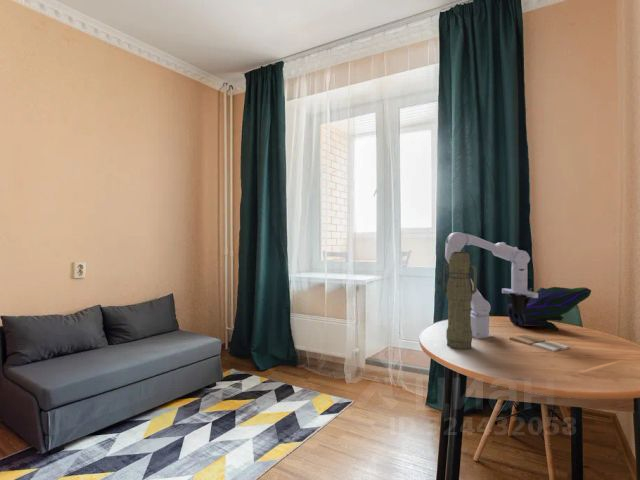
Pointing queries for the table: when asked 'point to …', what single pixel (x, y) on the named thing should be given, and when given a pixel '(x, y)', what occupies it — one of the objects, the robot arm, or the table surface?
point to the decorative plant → (548, 306)
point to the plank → (526, 339)
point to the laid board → (550, 346)
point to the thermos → (459, 300)
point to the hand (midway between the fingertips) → (519, 313)
